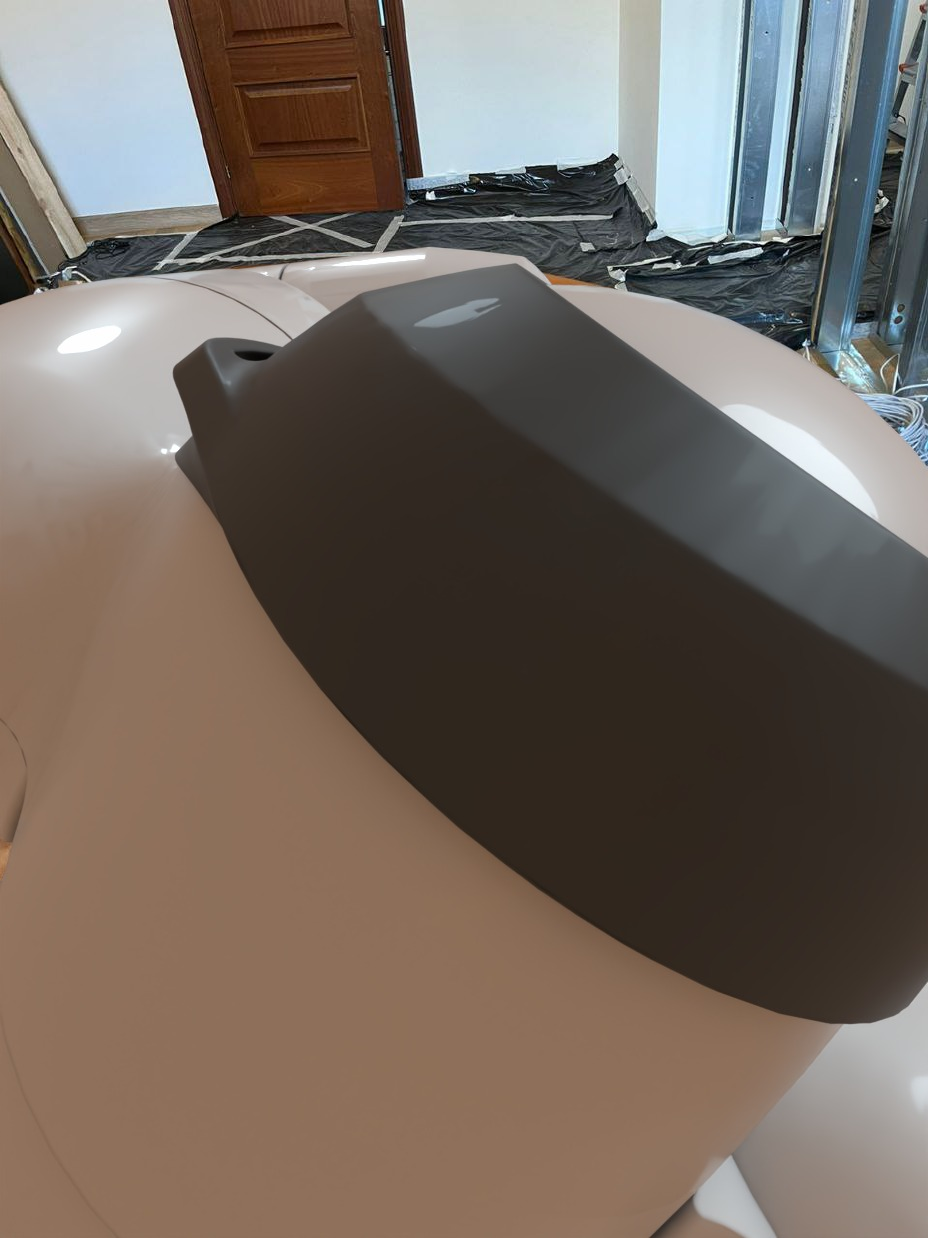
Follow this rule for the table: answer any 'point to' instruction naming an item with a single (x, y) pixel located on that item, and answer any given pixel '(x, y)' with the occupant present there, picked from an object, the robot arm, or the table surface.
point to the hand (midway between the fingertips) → (819, 647)
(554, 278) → the table surface
